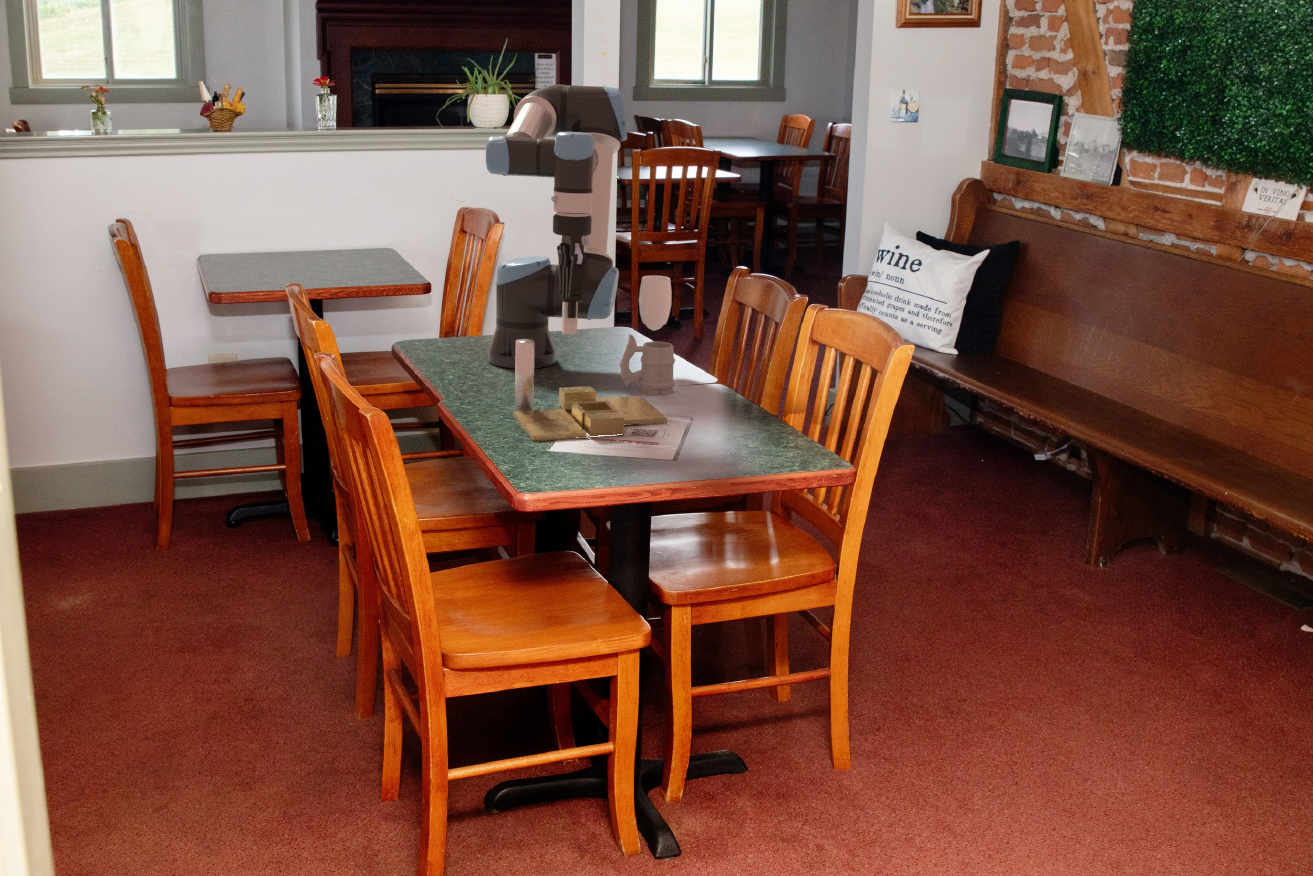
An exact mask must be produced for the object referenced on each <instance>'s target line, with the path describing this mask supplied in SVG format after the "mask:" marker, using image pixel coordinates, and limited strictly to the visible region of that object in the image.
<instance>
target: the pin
mask: <svg viewBox="0 0 1313 876" xmlns="http://www.w3.org/2000/svg"><path fill="white" fill-rule="evenodd" d="M534 343H535V341H534V340H530V339H519V340H516V349H515V368H514V369H515V370H514V372H515V373H514V411H532V410H534V397H535V396H534V395H535V394H534V392H535V390H534V389H535V388H534V387H535V386H534V385H535V368H534Z"/></svg>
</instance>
